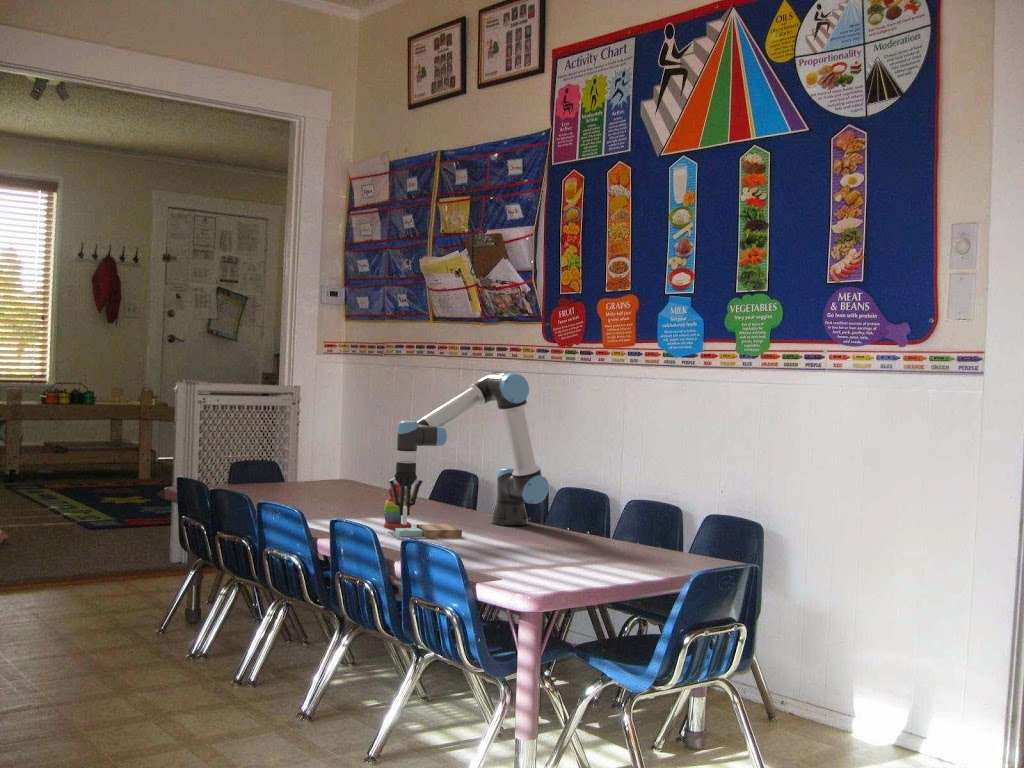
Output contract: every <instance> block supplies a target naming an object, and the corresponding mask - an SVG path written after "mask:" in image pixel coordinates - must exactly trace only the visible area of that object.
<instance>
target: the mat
mask: <svg viewBox="0 0 1024 768" xmlns="http://www.w3.org/2000/svg"><path fill="white" fill-rule="evenodd" d="M387 533H388V534H390V535H391V536H392V537H394V538H396V539H397V540H405V539H404V538H410V539H409V540H422V539H421V538H424V539H423V540H427V539H428V538H426V537H424V536H423V535H422V536H398V535H397V534H395V530H394V531H390V530H389V531H387ZM401 538H402V539H401Z"/></svg>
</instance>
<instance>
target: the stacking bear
mask: <svg viewBox="0 0 1024 768" xmlns="http://www.w3.org/2000/svg"><path fill="white" fill-rule="evenodd" d="M395 482H396V484H395V486H396V491H397V496H398V501H399V490H400V488H399V484H398V483H397V481H395ZM388 495H389V497H387V499H386V500H385V503H384V508H383V516H384V520H385V521H384V524H383V528H384V529H388V528H389V530H395V528H412V524H411V523H410V522H409V521H407V525H403V524H401V515H399V506H397V505H395V504H394V499H393V494H392V489H391V485H390V484H389V487H388ZM404 506H406V487H405V489H404Z"/></svg>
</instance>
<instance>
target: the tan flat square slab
mask: <svg viewBox="0 0 1024 768" xmlns="http://www.w3.org/2000/svg"><path fill="white" fill-rule="evenodd" d="M415 528H419V529H421V530H422V531H423V533H422V535H423V536H424V537H426V538H427V539H458V538H457V537H462V538H463V529H461V528H459V527H458V526H456V525H454V524H453V523H452V524H451V523H435V524H434V523H433V524H432V523H431V524H429V523H428V524H425V523H424V524H422V523H421V524H416V527H415ZM455 537H456V538H455Z"/></svg>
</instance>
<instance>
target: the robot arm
mask: <svg viewBox="0 0 1024 768" xmlns="http://www.w3.org/2000/svg"><path fill="white" fill-rule="evenodd" d="M468 387H469V388H468V389H467V390H465V391H463V392H461V393H460V394H458V395H457V396H455V397H453V398H452V399H451V400H449V401H447V402H446V403H444V404H442V405H441V406H440V407H437V408H436V409H434V410H433V411H432V412H430V413H428V414H427V415H425V416H423V417H422V418H420V419H418V420H417V421H416V420H415V421H414V420H400V421H399V422H398V425H397V431H396V434H397V437H396V438H397V439H396V440H397V441H396V461H397V462H396V465H395V466H396V467H395V474H394V477H393V478H392V479H389V480H388V484H389V486H390V485H391V489H392V494H393V499H394V504H395V505H397V506H399V515H401V524H403V525H407V522H408V521H407V520H408V519H407V518H408V516H410V511H411V509H410V508H411V507H412V506H415V505H416V501H417V497H418V494H419V490H420V487H421V485H422V483H423V480H422V479H419V478H418V475H417V463H416V462H417V457H418V456H417V454H418V453H417V451H418V447H439V446H440V447H442V446H444V445H445V444H446V441H447V438H448V437H447V436H448V435H447V433H448V432H447V431H446V428H445V427H446V426H447V425H449V424H450V423H452V422H454V421H455V420H457V419H458V418H460V417H461V416H463V415H465V414H466V413H468V412H470V411H472V410H473V409H474V408H476V407H478V406H483V405H486V404H488V403H489V402H496V404H497V409H498V410H499V411H500V412H502V414H503V418H504V423H505V428H506V433H507V437H508V443H509V447H510V452H511V457H512V463H513V466H514V468H500V469H499V470H498V472H497V476H496V477H497V483H496V484H497V487H496V504H495V507H494V508H495V509H494V510H493V514H492V516H491V523H492V524H493V523H494V524H493V525H497V524H499V525H498V526H504V525H524V526H526V525H525V524H527V525H528V524H529V518H528V517H529V516H528V515H527V510H526V507H525V503H527V504H530V505H535V504H536V505H537V504H539V503H541V502H543V501H544V500H545V499H546V497H547V495H548V494H549V490H550V485H549V482H548V480H547V478H546V477H545V476H543V475H542V472H541V471H542V470H541V467H540V466H539V465H537V464H536V460H535V456H534V451H533V446H532V441H531V437H530V432H529V427H528V426H529V425H528V421H527V417H526V415H527V414H526V411H525V407H526V405H527V404H528V401H527V398H528V395H529V394H530V386H529V383H528V381H527V379H526V378H525V377H524V376H522V375H521V374H519V373H516V372H512V371H511V372H505V371H504V372H503V371H494V372H490V373H488V374H486V375H484V376H483V377H481V378H479V379H478V380H475V382H473V383H472V384H470V385H469V386H468ZM396 482H397V483H398V484H399V488H400V490H399V501H398V496H397V491H396V486H395V484H396ZM414 483H415V484H414ZM413 484H414V487H413V491H412V485H413ZM405 488H406V495H405V496H404V489H405ZM404 497H405V499H406V506H404Z"/></svg>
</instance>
